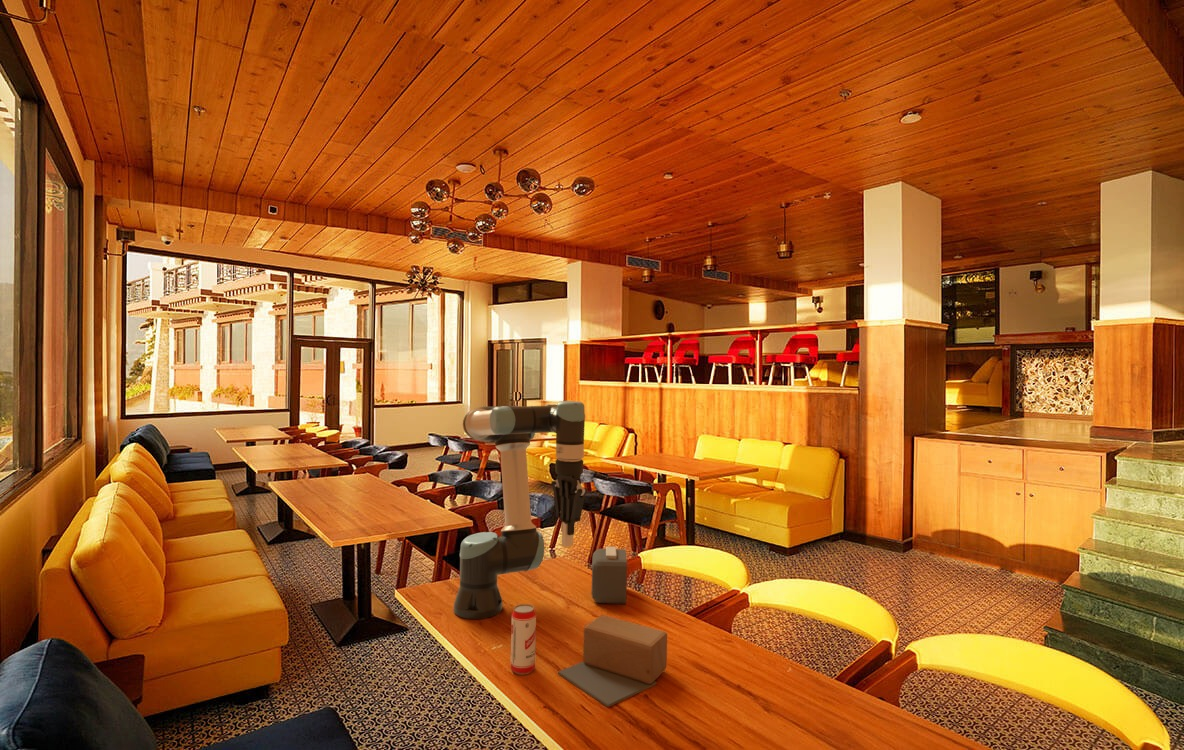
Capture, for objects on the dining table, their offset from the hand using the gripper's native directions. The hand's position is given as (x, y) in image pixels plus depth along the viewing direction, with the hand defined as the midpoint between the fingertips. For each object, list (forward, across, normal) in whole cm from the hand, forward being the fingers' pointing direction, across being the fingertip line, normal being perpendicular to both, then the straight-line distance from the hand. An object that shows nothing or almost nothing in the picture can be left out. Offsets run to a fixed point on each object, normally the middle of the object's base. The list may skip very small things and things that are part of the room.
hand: (567, 545), depth 166 cm
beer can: (+30, +1, -14) cm, 33 cm away
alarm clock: (+30, -22, +36) cm, 52 cm away
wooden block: (+24, +7, +4) cm, 25 cm away
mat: (+29, +17, 0) cm, 34 cm away
